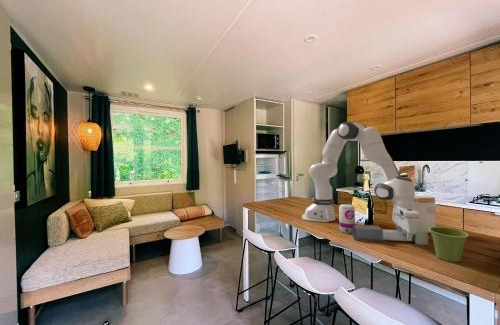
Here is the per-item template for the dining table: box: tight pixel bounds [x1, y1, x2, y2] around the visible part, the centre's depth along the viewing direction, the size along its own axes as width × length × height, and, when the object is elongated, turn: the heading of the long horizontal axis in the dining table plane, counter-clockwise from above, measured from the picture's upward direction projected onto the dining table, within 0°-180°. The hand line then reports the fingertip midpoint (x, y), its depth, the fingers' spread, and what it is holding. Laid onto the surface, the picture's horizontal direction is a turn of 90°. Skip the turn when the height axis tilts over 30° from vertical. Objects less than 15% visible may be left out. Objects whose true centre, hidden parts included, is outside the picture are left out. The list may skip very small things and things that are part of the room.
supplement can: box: [338, 203, 356, 234], centre depth 122 cm, size 8×8×15 cm
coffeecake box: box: [402, 194, 437, 234], centre depth 120 cm, size 15×7×20 cm, turn 84°
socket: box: [414, 226, 429, 246], centre depth 105 cm, size 5×8×6 cm, turn 166°
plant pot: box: [429, 226, 469, 263], centre depth 87 cm, size 12×12×11 cm
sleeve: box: [351, 224, 384, 243], centre depth 111 cm, size 13×7×6 cm, turn 76°
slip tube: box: [381, 228, 415, 243], centre depth 108 cm, size 21×6×5 cm, turn 76°
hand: (404, 236), depth 106 cm, fingers open, 8 cm apart
